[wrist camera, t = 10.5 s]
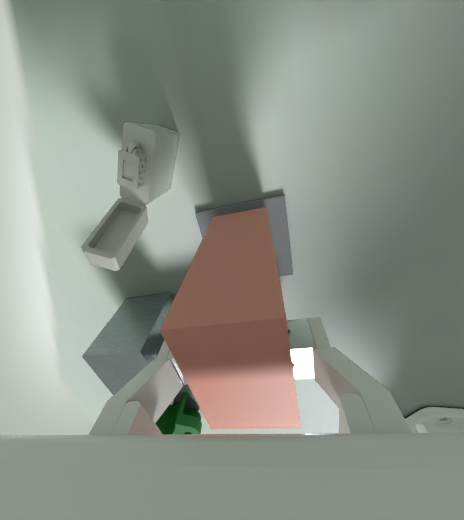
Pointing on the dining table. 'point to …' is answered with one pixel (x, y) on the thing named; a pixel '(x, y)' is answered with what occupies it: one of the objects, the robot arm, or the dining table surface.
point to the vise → (129, 340)
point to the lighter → (133, 192)
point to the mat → (276, 221)
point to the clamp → (179, 419)
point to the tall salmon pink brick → (235, 328)
